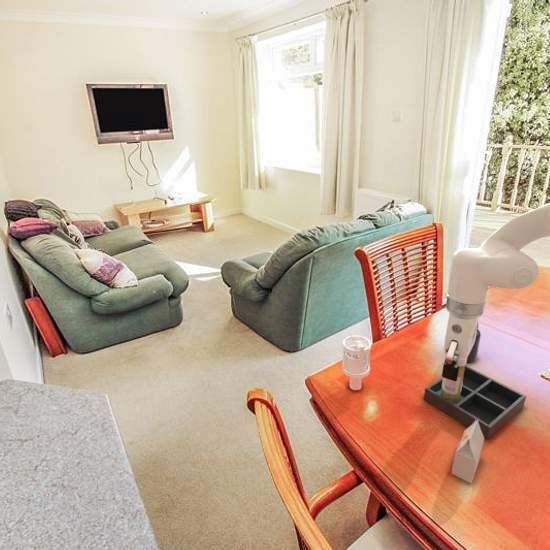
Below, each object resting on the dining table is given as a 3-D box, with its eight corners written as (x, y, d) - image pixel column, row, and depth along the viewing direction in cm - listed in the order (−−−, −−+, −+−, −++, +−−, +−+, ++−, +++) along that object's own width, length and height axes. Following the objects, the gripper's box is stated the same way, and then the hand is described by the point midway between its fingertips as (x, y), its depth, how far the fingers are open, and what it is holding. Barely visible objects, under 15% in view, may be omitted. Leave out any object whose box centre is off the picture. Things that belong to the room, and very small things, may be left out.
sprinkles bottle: (463, 400, 92) (471, 354, 87) (452, 408, 90) (460, 362, 85) (446, 390, 96) (453, 346, 91) (435, 398, 94) (442, 353, 88)
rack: (523, 407, 90) (526, 396, 89) (487, 439, 82) (490, 427, 81) (460, 373, 102) (462, 363, 101) (423, 399, 94) (425, 388, 93)
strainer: (347, 397, 97) (348, 348, 91) (338, 379, 103) (339, 333, 97) (373, 393, 97) (375, 344, 91) (363, 376, 104) (365, 329, 98)
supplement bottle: (451, 347, 114) (456, 313, 109) (476, 352, 111) (483, 317, 106) (449, 360, 108) (455, 324, 103) (476, 365, 105) (483, 329, 100)
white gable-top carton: (479, 459, 78) (487, 423, 74) (471, 483, 73) (479, 445, 69) (460, 451, 80) (467, 415, 76) (451, 473, 75) (458, 436, 71)
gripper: (474, 326, 74) (462, 395, 81) (491, 293, 86) (479, 355, 93) (435, 316, 78) (426, 382, 85) (457, 286, 91) (447, 346, 98)
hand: (454, 368), depth 89 cm, fingers open, 8 cm apart
